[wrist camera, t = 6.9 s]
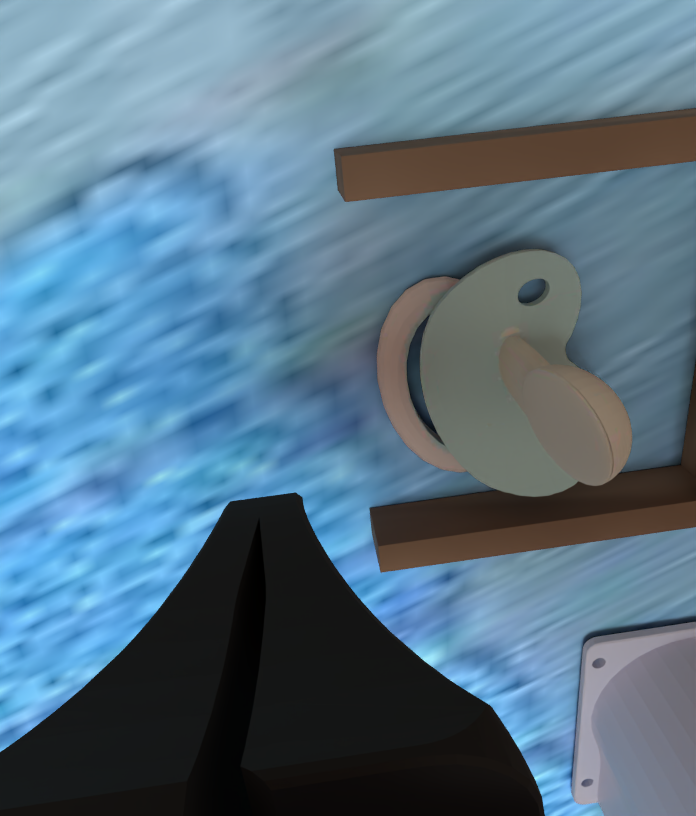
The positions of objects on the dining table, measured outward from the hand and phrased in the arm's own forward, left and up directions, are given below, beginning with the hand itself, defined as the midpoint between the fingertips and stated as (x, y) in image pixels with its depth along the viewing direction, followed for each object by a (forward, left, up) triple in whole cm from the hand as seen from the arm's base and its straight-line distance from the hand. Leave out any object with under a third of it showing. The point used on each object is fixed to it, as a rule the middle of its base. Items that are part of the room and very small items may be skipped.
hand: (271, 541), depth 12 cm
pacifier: (0, -6, -8) cm, 10 cm away
